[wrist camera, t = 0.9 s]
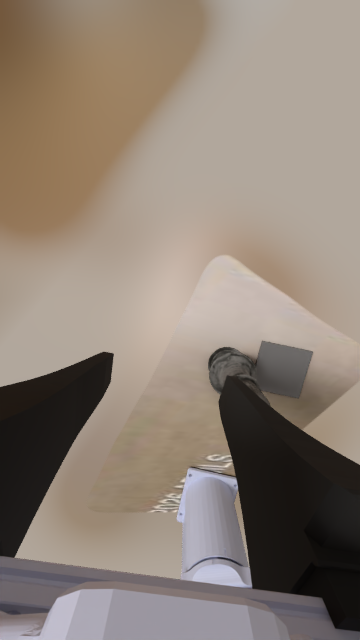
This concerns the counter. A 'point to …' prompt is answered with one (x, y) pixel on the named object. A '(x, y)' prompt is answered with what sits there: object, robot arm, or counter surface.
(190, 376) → the counter surface
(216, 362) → the dark grey chess piece
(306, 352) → the charcoal mat
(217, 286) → the counter surface
